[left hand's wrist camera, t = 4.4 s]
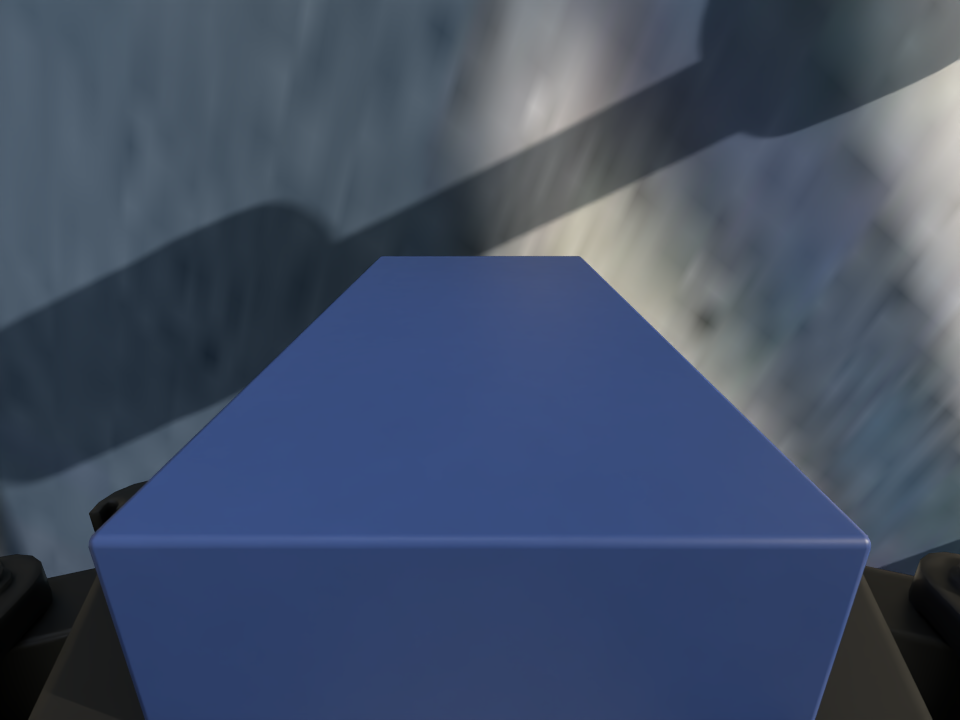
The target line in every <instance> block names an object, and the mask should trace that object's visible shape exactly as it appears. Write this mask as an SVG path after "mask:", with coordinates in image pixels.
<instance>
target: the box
mask: <svg viewBox="0 0 960 720" xmlns="http://www.w3.org/2000/svg"><path fill="white" fill-rule="evenodd" d="M89 550H90V553H91V556H92V559H93V562H94V565H95V568H96V571H97V575H98V578H99V581H100V584H101V587H102V590H103V593H104V596H105V599H106V602H107V605H108V608H109V611H110V614H111V617H112V620H113V623H114V626H115V630H116V633H117V636H118V639H119V642H120V645H121V648H122V651H123V654H124V657H125V660H126V663H127V666H128V669H129V672H130V675H131V678H132V681H133V684H134V688H135V691H136V694H137V697H138V700H139V703H140V706H141V709H142V712H143V715H144V718H145V720H815V718H816V715H817V712H818V709H819V706H820V702H821V699H822V696H823V693H824V690H825V687H826V684H827V681H828V678H829V675H830V672H831V669H832V666H833V663H834V660H835V657H836V654H837V651H838V647H839V644H840V641H841V638H842V635H843V632H844V629H845V626H846V623H847V620H848V617H849V614H850V611H851V608H852V605H853V602H854V599H855V595H856V592H857V589H858V586H859V583H860V580H861V577H862V574H863V571H864V568H865V565H866V562H867V559H868V556H869V553H870V550H871V543H870V540H869V538H868V536H867V535H866V534H865V533H864V532H863V531H862V530H861V529H860V528H859V527H858V526H857V525H856V524H855V523H854V522H853V521H852V520H851V519H850V518H849V517H848V516H847V515H846V514H845V513H844V512H843V511H842V510H840V509H839V508H838V507H837V506H836V505H835V504H834V503H833V502H832V501H831V500H830V499H829V498H828V497H827V496H826V495H825V494H824V493H823V492H822V491H821V490H820V489H819V488H818V487H817V486H816V485H815V484H814V483H813V482H812V481H811V480H810V479H809V478H808V477H807V476H806V475H804V474H803V473H802V472H801V471H800V470H799V469H798V468H797V467H796V466H795V465H794V464H793V463H792V462H791V461H790V460H789V459H788V458H787V457H786V456H785V455H784V454H783V453H782V452H781V451H780V450H779V449H778V448H777V447H776V446H775V445H774V444H773V443H772V442H771V441H770V440H768V439H767V438H766V437H765V436H764V435H763V434H762V433H761V432H760V431H759V430H758V429H757V428H756V427H755V426H754V425H753V424H752V423H751V422H750V421H749V420H748V419H747V418H746V417H745V416H744V415H743V414H742V413H741V412H740V411H739V410H738V409H737V408H736V407H735V406H734V405H732V404H731V403H730V402H729V401H728V400H727V399H726V398H725V397H724V396H723V395H722V394H721V393H720V392H719V391H718V390H717V389H716V388H715V387H714V386H713V385H712V384H711V383H710V382H709V381H708V380H707V379H706V378H705V377H704V376H703V375H702V374H701V373H700V372H699V371H698V370H696V369H695V368H694V367H693V366H692V365H691V364H690V363H689V362H688V361H687V360H686V359H685V358H684V357H683V356H682V355H681V354H680V353H679V352H678V351H677V350H676V349H675V348H674V347H673V346H672V345H671V344H670V343H669V342H668V341H667V340H666V339H665V338H664V337H663V336H662V335H660V334H659V333H658V332H657V331H656V330H655V329H654V328H653V327H652V326H651V325H650V324H649V323H648V322H647V321H646V320H645V319H644V318H643V317H642V316H641V315H640V314H639V313H638V312H637V311H636V310H635V309H634V308H633V307H632V306H631V305H630V304H629V303H628V302H627V301H626V300H624V299H623V298H622V297H621V296H620V295H619V294H618V293H617V292H616V291H615V290H614V289H613V288H612V287H611V286H610V285H609V284H608V283H607V282H606V281H605V280H604V279H603V278H602V277H601V276H600V275H599V274H598V273H597V272H596V271H595V270H594V269H593V268H592V267H591V266H590V265H588V264H587V263H586V262H585V261H584V260H583V259H582V258H581V257H579V256H381V257H380V258H379V259H377V260H376V261H375V262H374V263H373V264H372V265H371V266H370V267H369V268H368V269H367V270H366V271H365V272H364V273H363V274H362V275H361V276H360V277H359V278H358V279H357V280H356V281H355V282H354V283H353V284H352V285H351V286H350V287H349V288H347V289H346V290H345V291H344V292H343V293H342V294H341V295H340V296H339V297H338V298H337V299H336V300H335V301H334V302H333V303H332V304H331V305H330V306H329V307H328V308H327V309H326V310H325V311H324V312H323V313H322V314H321V315H320V316H318V317H317V318H316V319H315V320H314V321H313V322H312V323H311V324H310V325H309V326H308V327H307V328H306V329H305V330H304V331H303V332H302V333H301V334H300V335H299V336H298V337H297V338H296V339H295V340H294V341H293V342H292V343H291V344H290V345H288V346H287V347H286V348H285V349H284V350H283V351H282V352H281V353H280V354H279V355H278V356H277V357H276V358H275V359H274V360H273V361H272V362H271V363H270V364H269V365H268V366H267V367H266V368H265V369H264V370H263V371H262V372H261V373H259V374H258V375H257V376H256V377H255V378H254V379H253V380H252V381H251V382H250V383H249V384H248V385H247V386H246V387H245V388H244V389H243V390H242V391H241V392H240V393H239V394H238V395H237V396H236V397H235V398H234V399H233V400H232V401H231V402H229V403H228V404H227V405H226V406H225V407H224V408H223V409H222V410H221V411H220V412H219V413H218V414H217V415H216V416H215V417H214V418H213V419H212V420H211V421H210V422H209V423H208V424H207V425H206V426H205V427H204V428H203V429H202V430H200V431H199V432H198V433H197V434H196V435H195V436H194V437H193V438H192V439H191V440H190V441H189V442H188V443H187V444H186V445H185V446H184V447H183V448H182V449H181V450H180V451H179V452H178V453H177V454H176V455H175V456H174V457H173V458H172V459H170V460H169V461H168V462H167V463H166V464H165V465H164V466H163V467H162V468H161V469H160V470H159V471H158V472H157V473H156V474H155V475H154V476H153V477H152V478H151V479H150V480H149V481H148V482H147V483H146V484H145V485H144V486H143V487H141V488H140V489H139V490H138V491H137V492H136V493H135V494H134V495H133V496H132V497H131V498H130V499H129V500H128V501H127V502H126V503H125V504H124V505H123V506H122V507H121V508H120V509H119V510H118V511H117V512H116V513H115V514H114V515H113V516H111V517H110V518H109V519H108V520H107V521H106V522H105V523H104V524H103V525H102V526H101V527H100V528H99V529H98V530H97V531H96V532H95V533H94V534H93V535H92V536H91V538H90V540H89Z"/></svg>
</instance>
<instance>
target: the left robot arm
mask: <svg viewBox="0 0 960 720" xmlns="http://www.w3.org/2000/svg"><path fill="white" fill-rule="evenodd" d="M147 482H148V481H145V482H141V483H137V484H133V485H131V486H128V487H126V488H123V489H121V490H119V491H116V492H114V493H113V494H111V495H109V496H108V497H106V498H105V499H103V500H102V501H100V502H99V503H98V504H97V505H96V506H95V507H94V508H93V509H92V510H91V512H90V513H89V515H90V518H91V521H92V525H93V528H94V531H95V532H96V531H97V530H98V529H99V528H100V527H101V526H102V525H103V524H104V523H105V522H106V521H107V520H108V519H109V518H110V517H111V516H113V515H114V514H115V513H116V512H117V511H118V510H119V509H120V508H121V507H122V506H123V505H124V504H125V503H126V502H127V501H128V500H129V499H130V498H131V497H132V496H133V495H134V494H135V493H136V492H137V491H138V490H139V489H140V488H141V487H143V486H144V485H145V484H146V483H147ZM0 720H145V718H144V715H143V712H142V709H141V706H140V703H139V700H138V697H137V694H136V691H135V688H134V684H133V681H132V678H131V675H130V672H129V669H128V666H127V663H126V660H125V657H124V654H123V651H122V648H121V645H120V642H119V639H118V636H117V633H116V630H115V626H114V623H113V620H112V617H111V614H110V611H109V608H108V605H107V602H106V599H105V596H104V593H103V590H102V587H101V584H100V581H99V578H98V575H97V571H96V568H94V569H89V570H84V571H80V572H75V573H70V574H65V575H61V576H56V577H51V578H47V577H46V574H45V571H44V569H43V566H42V563H41V562H40V561H39V560H38V559H36V558H35V557H33V556H30V555H19V554H15V555H9V556H3V557H0ZM815 720H960V554H954V553H948V552H939V553H929V554H928V555H926V556H925V557H923V558H922V559H921V560H920V562H919V565H918V568H917V570H916V573H915V576H911V575H906V574H901V573H897V572H892V571H887V570H882V569H878V568H873V567H868V566H865V568H864V571H863V574H862V577H861V580H860V583H859V586H858V589H857V592H856V595H855V599H854V602H853V605H852V608H851V611H850V614H849V617H848V620H847V623H846V626H845V629H844V632H843V635H842V638H841V641H840V644H839V647H838V651H837V654H836V657H835V660H834V663H833V666H832V669H831V672H830V675H829V678H828V681H827V684H826V687H825V690H824V693H823V696H822V699H821V702H820V706H819V709H818V712H817V715H816V718H815Z"/></svg>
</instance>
